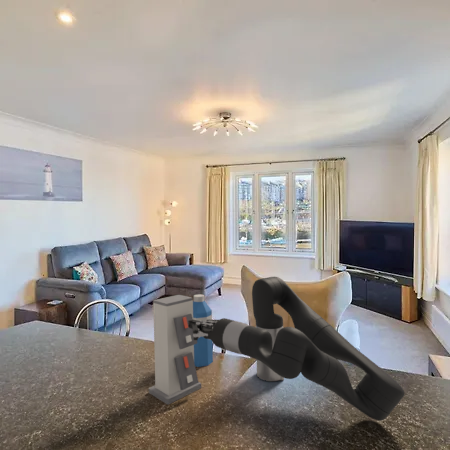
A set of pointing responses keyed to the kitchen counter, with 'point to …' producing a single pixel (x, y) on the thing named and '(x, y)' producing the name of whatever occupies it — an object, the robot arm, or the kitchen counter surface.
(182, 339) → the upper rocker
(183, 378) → the lower rocker
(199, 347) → the water bottle
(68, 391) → the kitchen counter surface
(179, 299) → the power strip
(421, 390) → the kitchen counter surface
